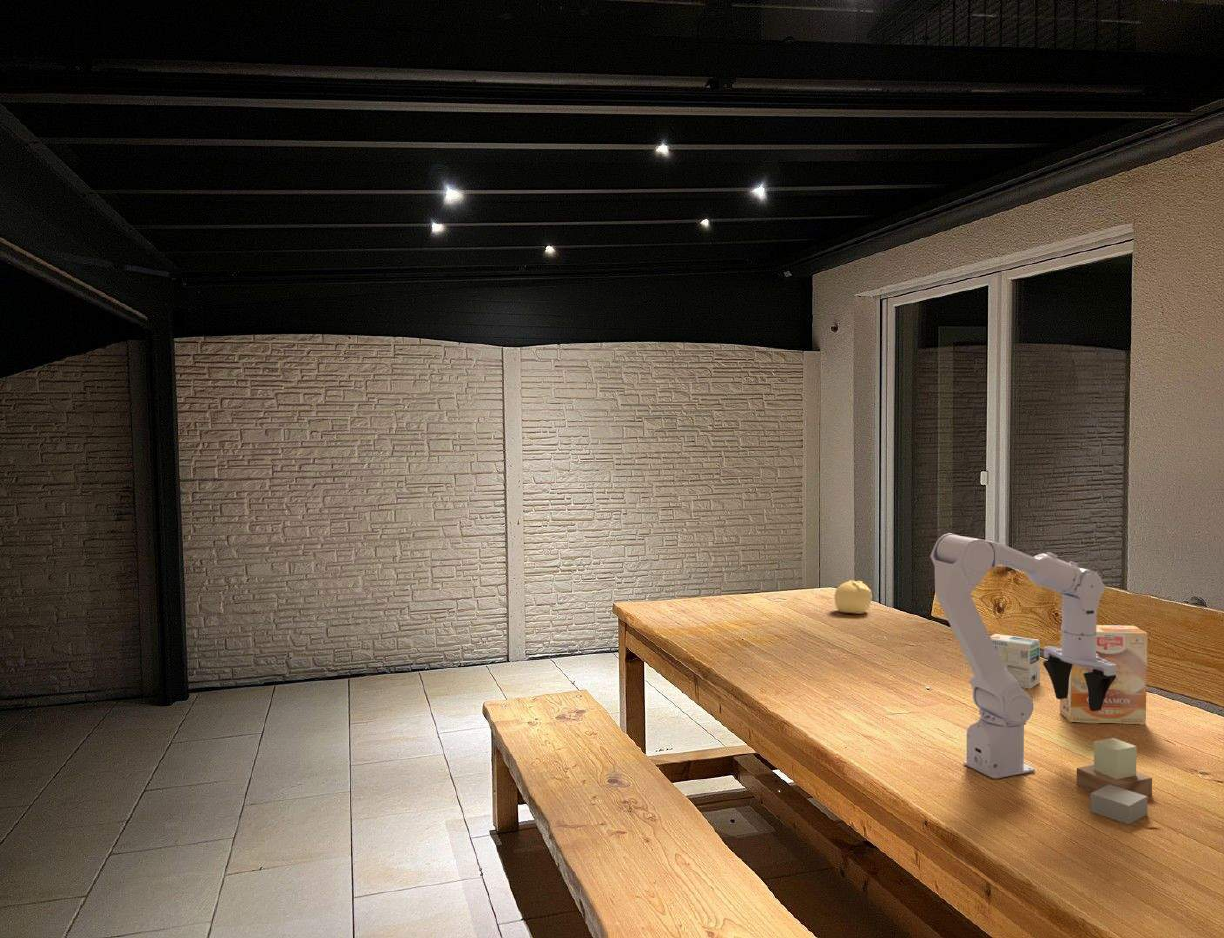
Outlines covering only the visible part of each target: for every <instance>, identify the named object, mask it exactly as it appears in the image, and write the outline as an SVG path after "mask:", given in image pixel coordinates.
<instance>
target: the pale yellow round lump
mask: <svg viewBox="0 0 1224 938" xmlns="http://www.w3.org/2000/svg"><path fill="white" fill-rule="evenodd" d="M872 600H873V592H872V590H871V589H870V588H869V586H868V585H867V584H865V583H864V582H863V581H862V580H857V581H856V580H854V579H853V580H852V579H849V580H848V581H846V582H842V583H841V584H840V585H839V586H838V587H837V588H836V590H835V592H834V604H835V607H836V609H837V610H838V611H839V612H840V613H846V614H847V613H848V614H850V613H851V614H857V615H858V614H859V615H862V614H865V613H866V612H867V611H868V610H869V609H870V608H871V603H872Z"/></svg>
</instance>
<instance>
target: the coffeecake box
mask: <svg viewBox="0 0 1224 938" xmlns="http://www.w3.org/2000/svg"><path fill="white" fill-rule="evenodd" d="M1060 648H1062V623H1061V624H1060ZM1096 654H1098V657H1100V658H1102V659H1104V660H1106V661H1108V662H1110V663H1113V664H1116V678H1115V680H1114V681H1113V682H1112V684H1111V685H1110V687H1109V689H1108V691H1107V693H1106V696H1105V698H1104V701H1103V705H1102V708H1101V710H1098V711H1091V710H1090V708H1089V694H1088V687H1087V683H1086V680H1085V677H1084V673H1088V672H1093V670H1090V669H1087V668H1084V667H1080V666H1077V665H1074V664H1073V665H1072V668H1071V672H1070V677H1069V688H1068V696H1067V698H1064V699H1059V713H1060V714H1061V715H1062V716H1063V715H1064V716H1063V717H1066V718H1067V719H1066V718H1065V719H1066V720H1067V721H1068V722H1069V723H1070V722H1083V723H1082V724H1098V723H1120V724H1119V725H1133V724H1140V725H1139V726H1141V725H1142V726H1146V722H1147V719H1146V718H1147V685H1148V684H1147V681H1148V680H1147V676H1148V675H1147V674H1148V671H1147V669H1148V668H1147V667H1148V632H1146V631H1145V630H1144V629H1140V628H1139V627H1137V626H1135V625H1121V624H1120V625H1117V624H1116V625H1114V624H1113V625H1112V624H1107V625H1106V624H1097V629H1096ZM1085 722H1086V723H1085ZM1121 723H1123V724H1121Z"/></svg>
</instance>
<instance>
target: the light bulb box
mask: <svg viewBox="0 0 1224 938" xmlns="http://www.w3.org/2000/svg"><path fill="white" fill-rule="evenodd" d="M989 636H990V638H991V640H992V642H993V644H994V646H995V648H996V650H997V652H998V655H999V657H1000V659H1001V661H1002V663H1003V665H1004V667H1005V668H1006V670H1007V671H1008V672H1009V673H1010V674H1011V675H1012V676H1013V677H1014V678H1015V679H1016V680H1017V681H1018V682H1019V684H1020V686H1021V688H1022V689H1032V688H1034V687H1036V686H1037V685H1038V684H1040V683H1041V667H1040V666H1041V663H1040V662H1041V661H1040V660H1041V659H1040V656H1041V654H1040V653H1041V652H1040V650H1041V647H1040V646H1041V644H1040V643H1041V642H1040V641H1041V640H1040V639H1038V638H1030V637H1029V638H1028V637H1023V636H1014V635H1008V634H999V633H995V634H993V635H989Z"/></svg>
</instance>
